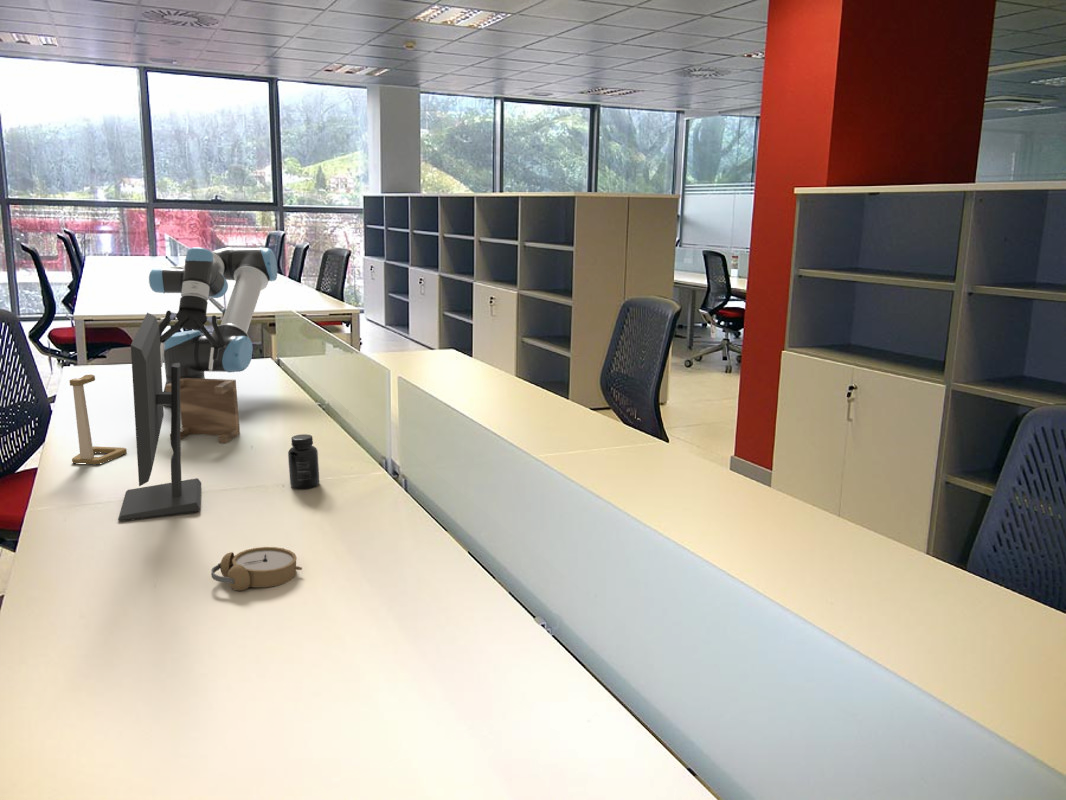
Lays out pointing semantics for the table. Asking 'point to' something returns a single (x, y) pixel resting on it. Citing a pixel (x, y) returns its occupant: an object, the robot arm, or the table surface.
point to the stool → (208, 407)
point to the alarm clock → (257, 568)
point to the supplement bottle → (303, 462)
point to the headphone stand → (88, 428)
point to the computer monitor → (156, 432)
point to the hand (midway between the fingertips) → (185, 368)
